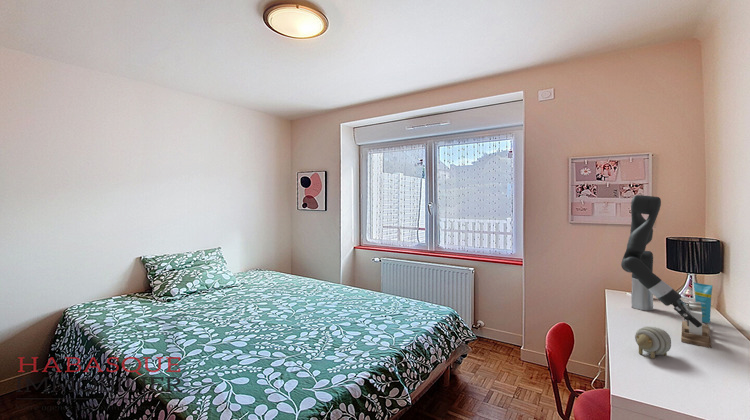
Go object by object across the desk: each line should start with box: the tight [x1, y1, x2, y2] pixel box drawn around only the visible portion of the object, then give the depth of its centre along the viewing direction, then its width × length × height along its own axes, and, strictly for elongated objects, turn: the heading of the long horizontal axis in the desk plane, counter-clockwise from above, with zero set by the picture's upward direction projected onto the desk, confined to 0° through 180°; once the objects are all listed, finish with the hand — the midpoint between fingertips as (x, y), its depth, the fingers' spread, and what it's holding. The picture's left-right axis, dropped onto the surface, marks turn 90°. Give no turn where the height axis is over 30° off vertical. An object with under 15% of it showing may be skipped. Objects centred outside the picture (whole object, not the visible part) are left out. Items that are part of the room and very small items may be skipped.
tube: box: [693, 282, 713, 324], centre depth 159 cm, size 7×5×19 cm, turn 23°
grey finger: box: [686, 310, 703, 336], centre depth 138 cm, size 4×3×11 cm, turn 43°
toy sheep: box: [634, 326, 672, 360], centre depth 126 cm, size 11×17×11 cm, turn 114°
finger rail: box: [680, 300, 712, 349], centre depth 144 cm, size 9×28×12 cm, turn 135°
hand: (700, 323), depth 137 cm, fingers open, 8 cm apart
